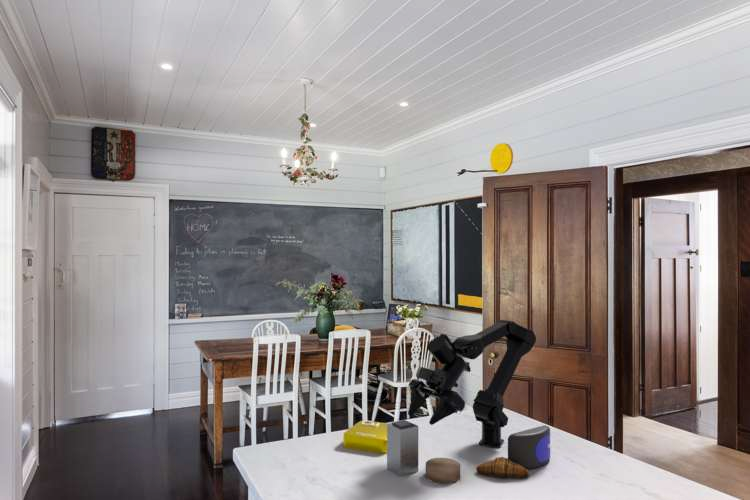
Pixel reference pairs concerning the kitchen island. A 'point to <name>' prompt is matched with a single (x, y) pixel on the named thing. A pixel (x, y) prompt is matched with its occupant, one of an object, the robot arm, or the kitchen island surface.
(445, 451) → the kitchen island surface
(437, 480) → the walnut stand
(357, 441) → the element tile
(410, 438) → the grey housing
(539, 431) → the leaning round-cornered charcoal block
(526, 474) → the croissant
